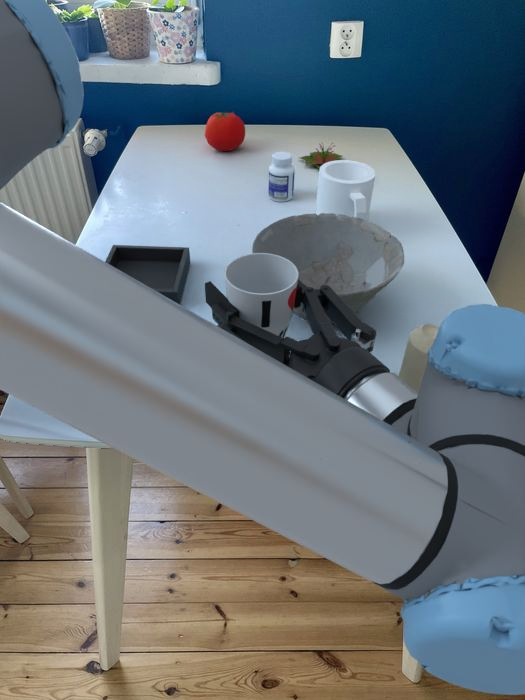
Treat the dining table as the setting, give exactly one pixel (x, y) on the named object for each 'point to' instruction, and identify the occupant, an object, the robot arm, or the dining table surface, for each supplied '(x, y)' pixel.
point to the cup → (262, 290)
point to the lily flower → (321, 157)
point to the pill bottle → (281, 177)
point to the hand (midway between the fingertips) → (238, 281)
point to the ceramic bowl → (335, 254)
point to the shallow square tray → (154, 267)
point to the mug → (345, 188)
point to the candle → (417, 355)
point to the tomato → (225, 131)
